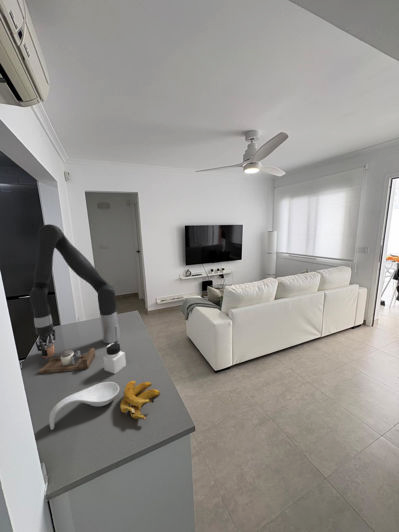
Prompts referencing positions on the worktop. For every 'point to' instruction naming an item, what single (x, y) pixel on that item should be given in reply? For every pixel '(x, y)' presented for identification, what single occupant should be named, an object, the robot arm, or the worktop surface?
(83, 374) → the worktop surface
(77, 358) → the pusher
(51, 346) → the terracotta jar
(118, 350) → the medicine bottle
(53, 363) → the lane
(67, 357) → the cream jar
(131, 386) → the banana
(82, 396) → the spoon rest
